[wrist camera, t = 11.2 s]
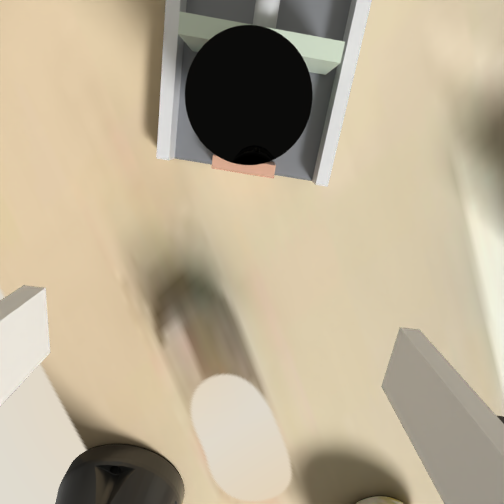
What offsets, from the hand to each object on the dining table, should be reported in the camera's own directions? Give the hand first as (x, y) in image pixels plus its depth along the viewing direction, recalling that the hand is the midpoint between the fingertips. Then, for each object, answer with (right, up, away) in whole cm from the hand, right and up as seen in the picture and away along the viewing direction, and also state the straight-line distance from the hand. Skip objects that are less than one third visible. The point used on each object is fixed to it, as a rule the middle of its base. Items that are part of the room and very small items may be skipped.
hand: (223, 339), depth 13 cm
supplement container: (+1, +15, +15) cm, 21 cm away
